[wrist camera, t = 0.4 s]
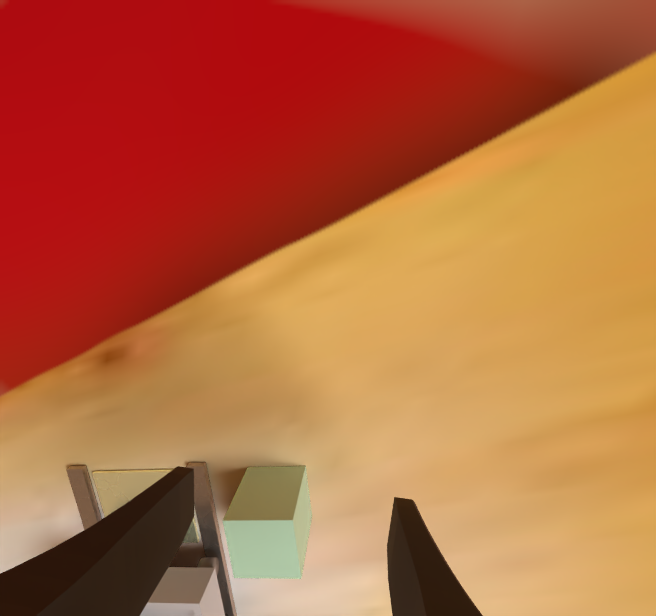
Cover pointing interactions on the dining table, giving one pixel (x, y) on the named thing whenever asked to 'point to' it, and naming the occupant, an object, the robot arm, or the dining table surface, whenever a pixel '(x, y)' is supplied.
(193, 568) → the grey shallow tray
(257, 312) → the dining table surface
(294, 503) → the green block
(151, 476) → the rails
